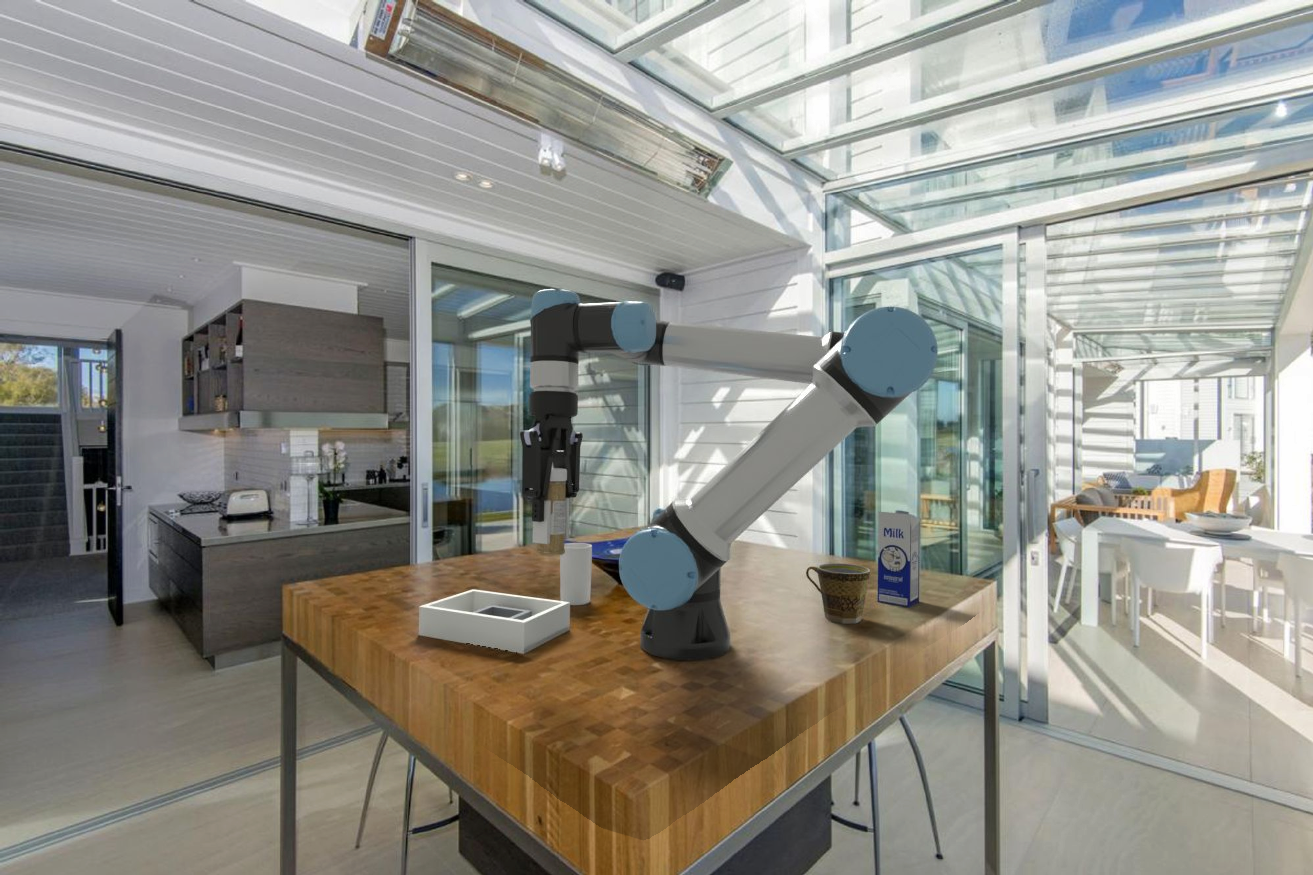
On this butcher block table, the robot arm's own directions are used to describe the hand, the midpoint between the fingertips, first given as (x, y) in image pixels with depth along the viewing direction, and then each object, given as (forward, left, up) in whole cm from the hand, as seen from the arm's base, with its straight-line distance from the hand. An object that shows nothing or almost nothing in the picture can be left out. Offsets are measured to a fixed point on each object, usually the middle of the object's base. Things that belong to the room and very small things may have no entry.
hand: (551, 540), depth 96 cm
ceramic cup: (-38, -45, -19) cm, 61 cm away
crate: (+16, -8, -19) cm, 26 cm away
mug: (+15, -34, -19) cm, 42 cm away
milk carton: (-49, -64, -19) cm, 82 cm away
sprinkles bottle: (0, 0, -2) cm, 2 cm away
